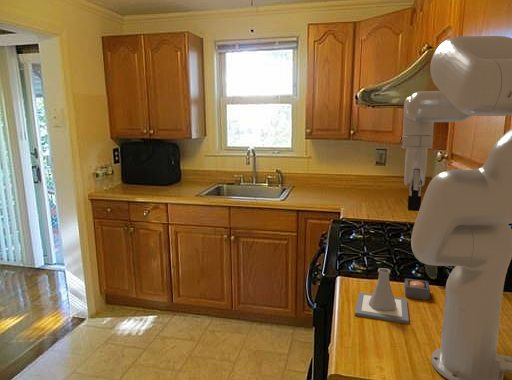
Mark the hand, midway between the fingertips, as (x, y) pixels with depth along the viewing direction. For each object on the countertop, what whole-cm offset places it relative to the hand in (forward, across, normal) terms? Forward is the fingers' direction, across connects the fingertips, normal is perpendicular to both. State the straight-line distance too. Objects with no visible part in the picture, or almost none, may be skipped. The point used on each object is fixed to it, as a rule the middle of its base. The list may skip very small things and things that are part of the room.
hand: (413, 210), depth 103 cm
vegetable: (+26, -20, +7) cm, 33 cm away
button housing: (+26, -6, +2) cm, 27 cm away
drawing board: (+26, +7, -7) cm, 28 cm away
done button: (+25, -6, +2) cm, 26 cm away
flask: (+26, +8, -7) cm, 28 cm away
